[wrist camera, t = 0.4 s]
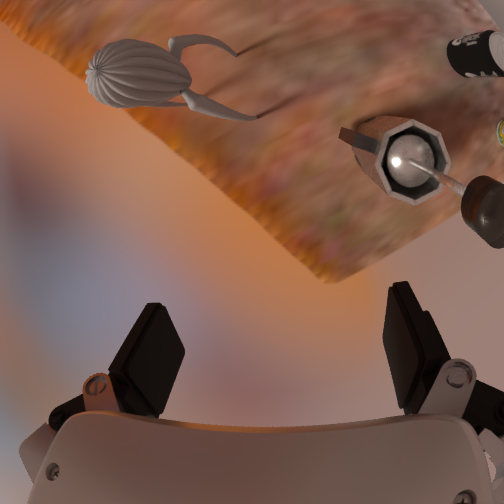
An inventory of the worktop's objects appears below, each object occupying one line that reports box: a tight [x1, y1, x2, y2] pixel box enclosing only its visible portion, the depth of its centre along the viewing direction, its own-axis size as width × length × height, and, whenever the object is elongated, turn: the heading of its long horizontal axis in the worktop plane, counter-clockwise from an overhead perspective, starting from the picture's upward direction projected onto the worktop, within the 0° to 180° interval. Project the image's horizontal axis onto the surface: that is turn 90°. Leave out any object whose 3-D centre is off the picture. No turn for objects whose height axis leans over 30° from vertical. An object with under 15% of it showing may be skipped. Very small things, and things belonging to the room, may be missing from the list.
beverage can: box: [447, 30, 504, 78], centre depth 22 cm, size 7×7×12 cm
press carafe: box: [338, 115, 451, 206], centre depth 31 cm, size 12×9×12 cm
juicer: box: [85, 34, 258, 121], centre depth 22 cm, size 10×9×30 cm
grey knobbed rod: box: [386, 134, 504, 249], centre depth 20 cm, size 6×6×18 cm
